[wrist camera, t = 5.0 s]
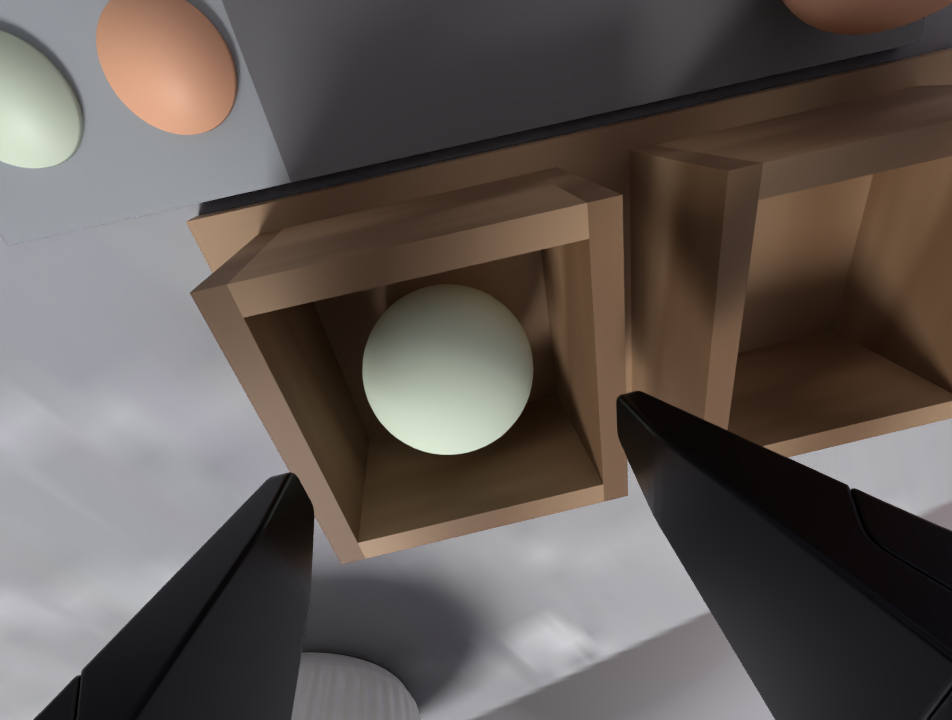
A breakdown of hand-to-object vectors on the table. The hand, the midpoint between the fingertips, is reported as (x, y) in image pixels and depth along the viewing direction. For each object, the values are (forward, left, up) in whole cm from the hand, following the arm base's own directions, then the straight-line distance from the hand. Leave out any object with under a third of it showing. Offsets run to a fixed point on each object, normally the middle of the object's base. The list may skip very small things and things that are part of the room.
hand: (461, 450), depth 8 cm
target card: (+6, -7, -6) cm, 10 cm away
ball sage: (0, 0, -5) cm, 5 cm away
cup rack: (-4, 0, -6) cm, 7 cm away
